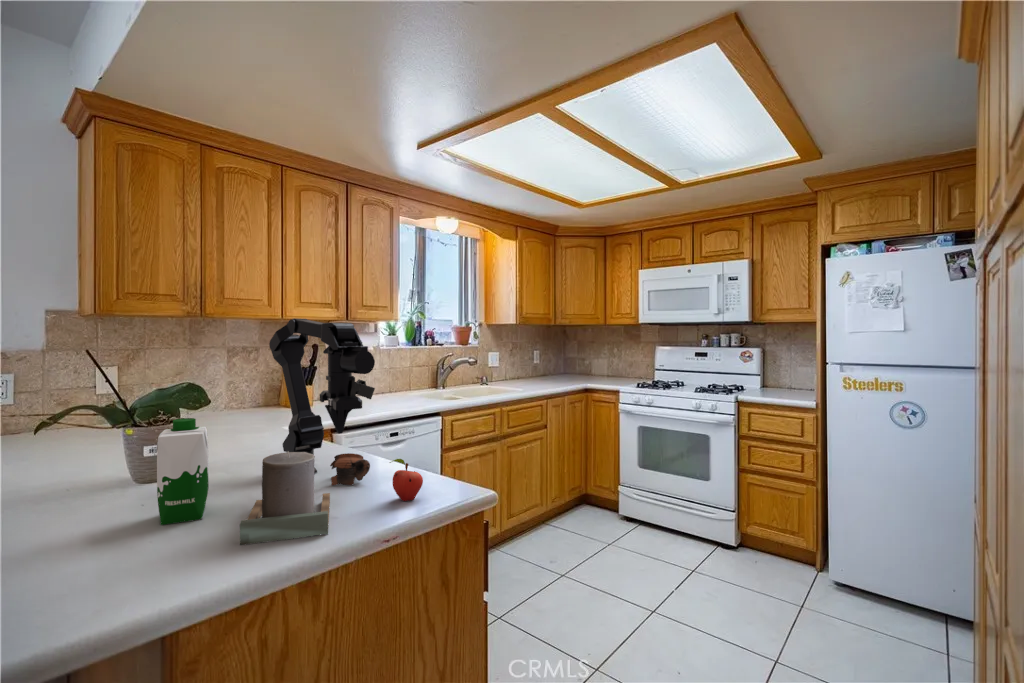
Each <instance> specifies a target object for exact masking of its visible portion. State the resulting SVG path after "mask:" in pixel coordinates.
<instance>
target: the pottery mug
mask: <svg viewBox="0 0 1024 683" xmlns="http://www.w3.org/2000/svg"><path fill="white" fill-rule="evenodd" d="M329 466H330V467H331V470H334V469H335V470H336V471H335V472H336V475H334V476H331V478H330V480H331V486H337V485H338V486H339V485H342V486H353V485H352V484H354V485H355V481H356V480H357V481H359V482H360V481H362V480H363V479H364V477H366V475H368V473H369V471H370V469H371V462H370V461H369V460H367V459H364V456H362V454H358V453H353V452H352V453H350V452H349V453H340V454H337V455H335V456H334V460H333V461H332V462H331V463H330V465H329ZM355 479H356V480H355Z"/></svg>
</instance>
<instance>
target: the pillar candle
mask: <svg viewBox="0 0 1024 683" xmlns="http://www.w3.org/2000/svg"><path fill="white" fill-rule="evenodd" d="M315 457H316V456H315V455H313V454H310V453H307V452H289V451H287V452H280V453H279V452H278V453H274V454H271V455H268V456H265V457H264V458H263V459H262V463H261V464H262V466H261V469H262V470H261V472H262V473H261V474H262V475H261V482H262V483H261V500H262V515H261V518H268V517H277V516H286V515H296V514H305V513H314V512H315V511H314V510H315V508H314V507H315V473H314V467H315Z"/></svg>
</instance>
